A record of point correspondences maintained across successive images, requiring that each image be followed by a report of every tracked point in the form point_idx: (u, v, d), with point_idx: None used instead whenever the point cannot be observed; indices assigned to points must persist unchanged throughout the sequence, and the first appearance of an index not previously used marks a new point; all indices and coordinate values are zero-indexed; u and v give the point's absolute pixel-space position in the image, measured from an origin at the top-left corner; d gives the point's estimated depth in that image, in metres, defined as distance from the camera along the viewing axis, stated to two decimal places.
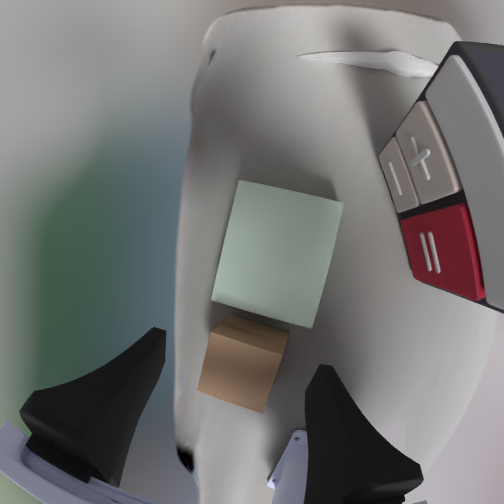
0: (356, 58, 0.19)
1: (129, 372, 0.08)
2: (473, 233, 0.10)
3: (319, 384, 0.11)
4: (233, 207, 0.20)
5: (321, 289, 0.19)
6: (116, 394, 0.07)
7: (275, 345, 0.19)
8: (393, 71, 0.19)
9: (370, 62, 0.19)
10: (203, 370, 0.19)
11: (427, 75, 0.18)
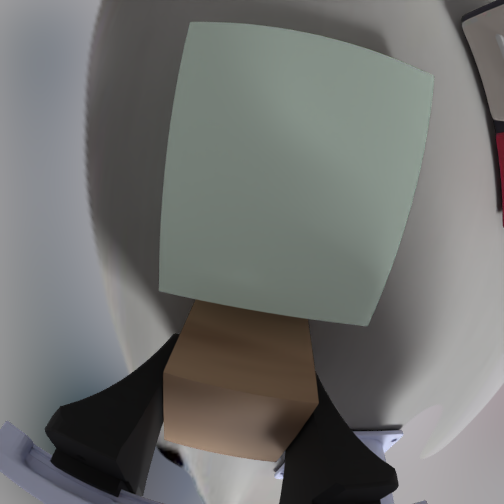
0: None
1: (156, 381, 0.08)
2: None
3: None
4: (180, 81, 0.07)
5: (393, 254, 0.08)
6: (146, 405, 0.07)
7: (297, 371, 0.09)
8: None
9: None
10: (166, 421, 0.09)
11: None
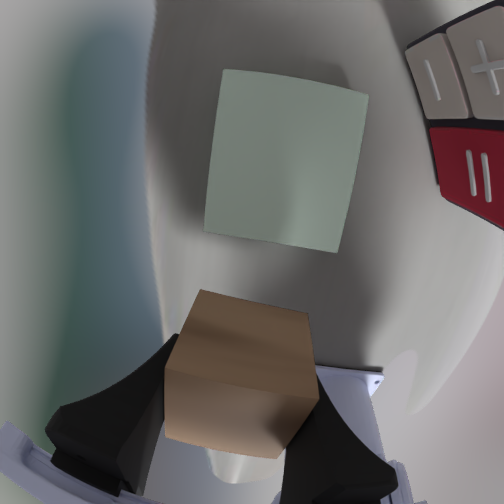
0: None
1: (156, 381, 0.08)
2: None
3: None
4: (219, 105, 0.13)
5: (347, 203, 0.14)
6: (146, 405, 0.07)
7: (297, 367, 0.09)
8: None
9: None
10: (167, 417, 0.09)
11: None
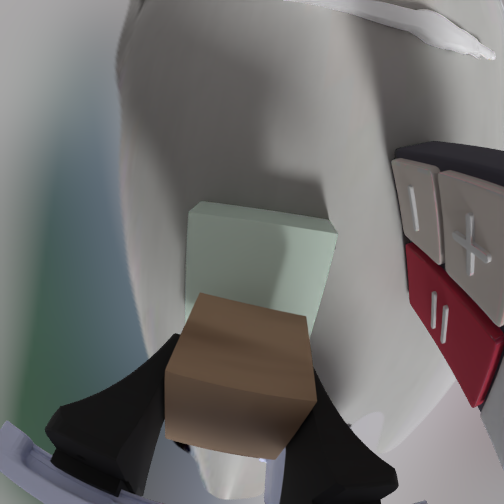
0: (371, 11, 0.10)
1: (156, 381, 0.08)
2: (495, 364, 0.07)
3: None
4: (188, 250, 0.15)
5: (309, 330, 0.16)
6: (146, 405, 0.07)
7: (296, 370, 0.09)
8: (422, 38, 0.11)
9: (391, 20, 0.10)
10: (167, 419, 0.09)
11: (466, 53, 0.10)
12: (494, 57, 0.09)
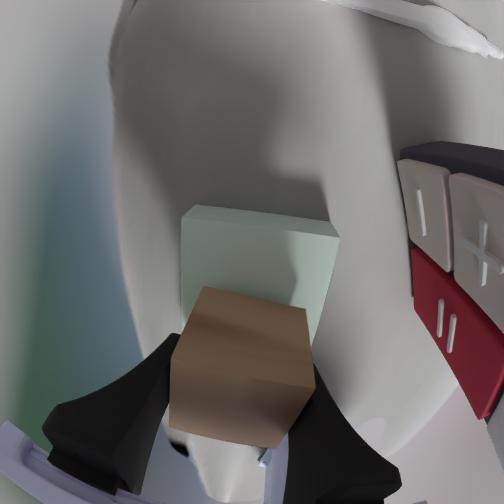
0: (376, 5, 0.09)
1: (153, 380, 0.08)
2: None
3: None
4: (182, 257, 0.14)
5: (311, 338, 0.15)
6: (143, 404, 0.07)
7: (295, 358, 0.10)
8: (429, 35, 0.10)
9: (397, 15, 0.09)
10: (172, 407, 0.10)
11: (474, 51, 0.09)
12: (502, 56, 0.08)
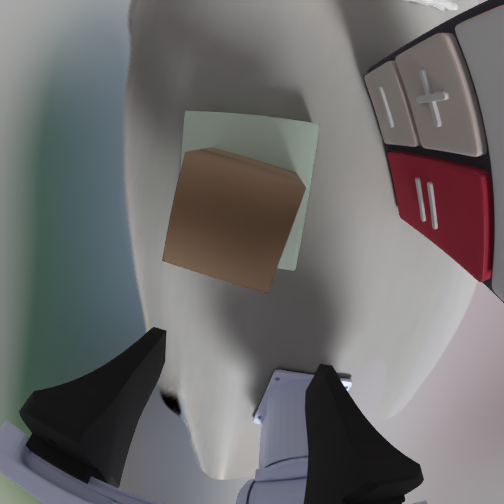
0: None
1: (129, 372, 0.08)
2: (490, 210, 0.08)
3: (319, 384, 0.11)
4: (183, 145, 0.15)
5: (301, 227, 0.17)
6: (116, 394, 0.07)
7: (288, 177, 0.12)
8: None
9: None
10: (171, 223, 0.12)
11: (428, 4, 0.11)
12: (456, 7, 0.10)
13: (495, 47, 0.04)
